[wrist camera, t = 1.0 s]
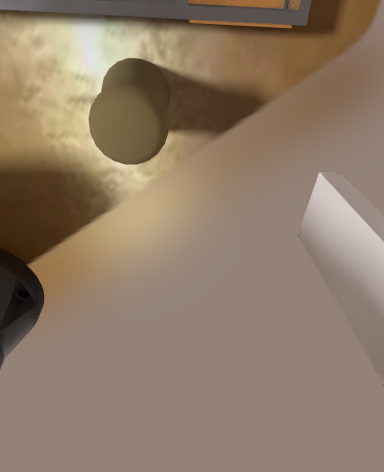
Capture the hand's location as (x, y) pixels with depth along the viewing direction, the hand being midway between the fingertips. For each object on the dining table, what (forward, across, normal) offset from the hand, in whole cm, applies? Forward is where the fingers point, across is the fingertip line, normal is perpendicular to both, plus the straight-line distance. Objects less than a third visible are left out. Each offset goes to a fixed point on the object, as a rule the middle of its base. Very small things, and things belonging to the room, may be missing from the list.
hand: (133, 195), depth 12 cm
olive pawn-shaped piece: (+21, +2, +1) cm, 21 cm away
